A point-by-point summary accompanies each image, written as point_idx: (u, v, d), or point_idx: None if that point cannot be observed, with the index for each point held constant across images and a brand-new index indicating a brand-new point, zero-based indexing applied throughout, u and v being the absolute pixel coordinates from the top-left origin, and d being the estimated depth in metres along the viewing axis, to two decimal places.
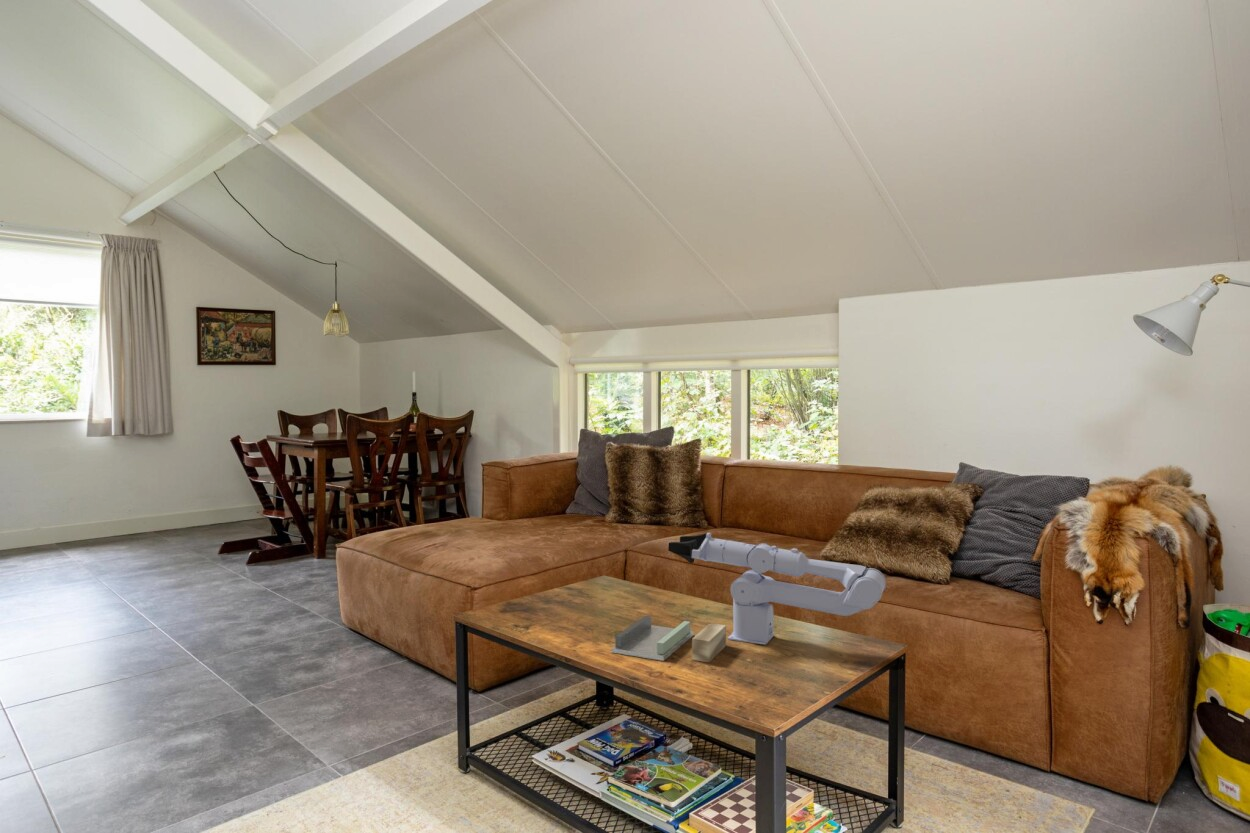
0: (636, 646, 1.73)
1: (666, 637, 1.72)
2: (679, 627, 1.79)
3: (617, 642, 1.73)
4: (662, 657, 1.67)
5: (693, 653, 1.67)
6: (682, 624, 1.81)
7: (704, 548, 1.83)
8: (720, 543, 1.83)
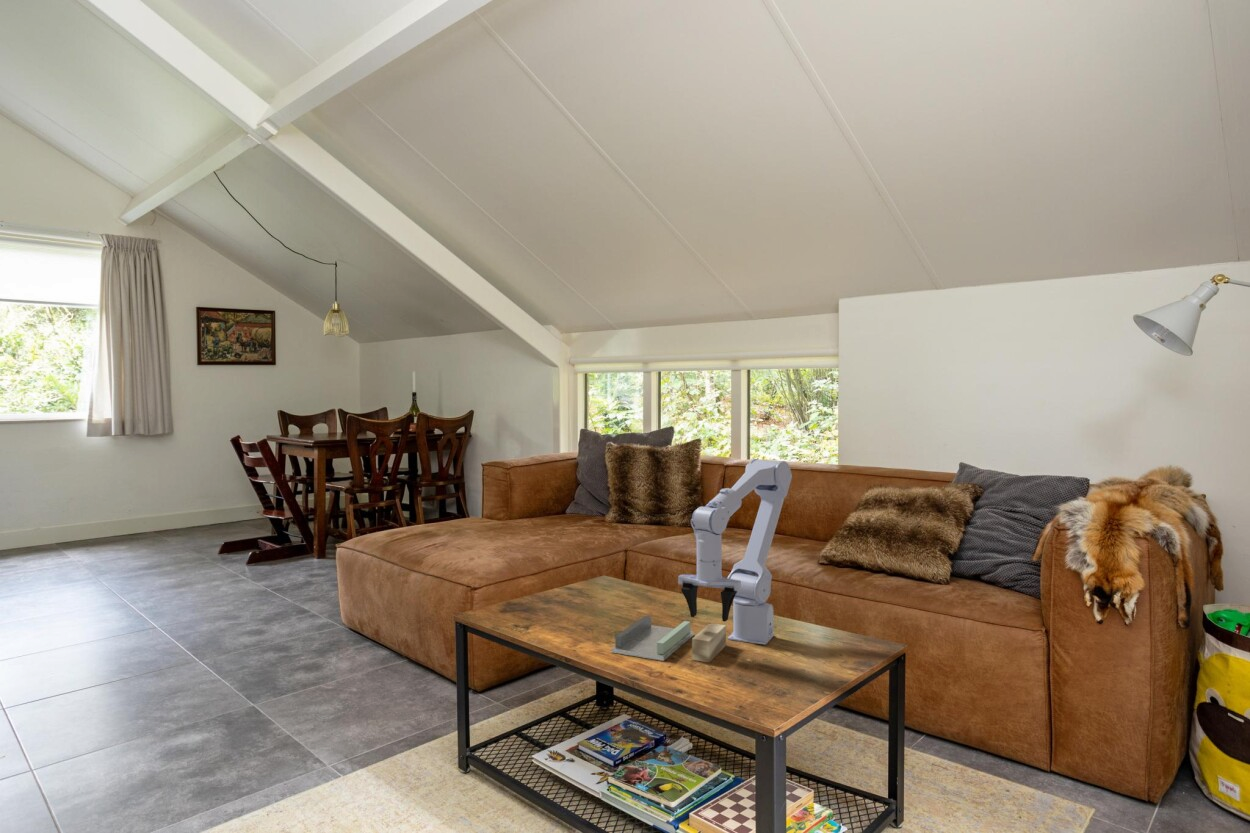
0: (636, 646, 1.73)
1: (666, 637, 1.72)
2: (679, 627, 1.79)
3: (617, 642, 1.73)
4: (662, 657, 1.67)
5: (693, 653, 1.67)
6: (682, 624, 1.81)
7: (720, 581, 1.69)
8: (711, 566, 1.69)
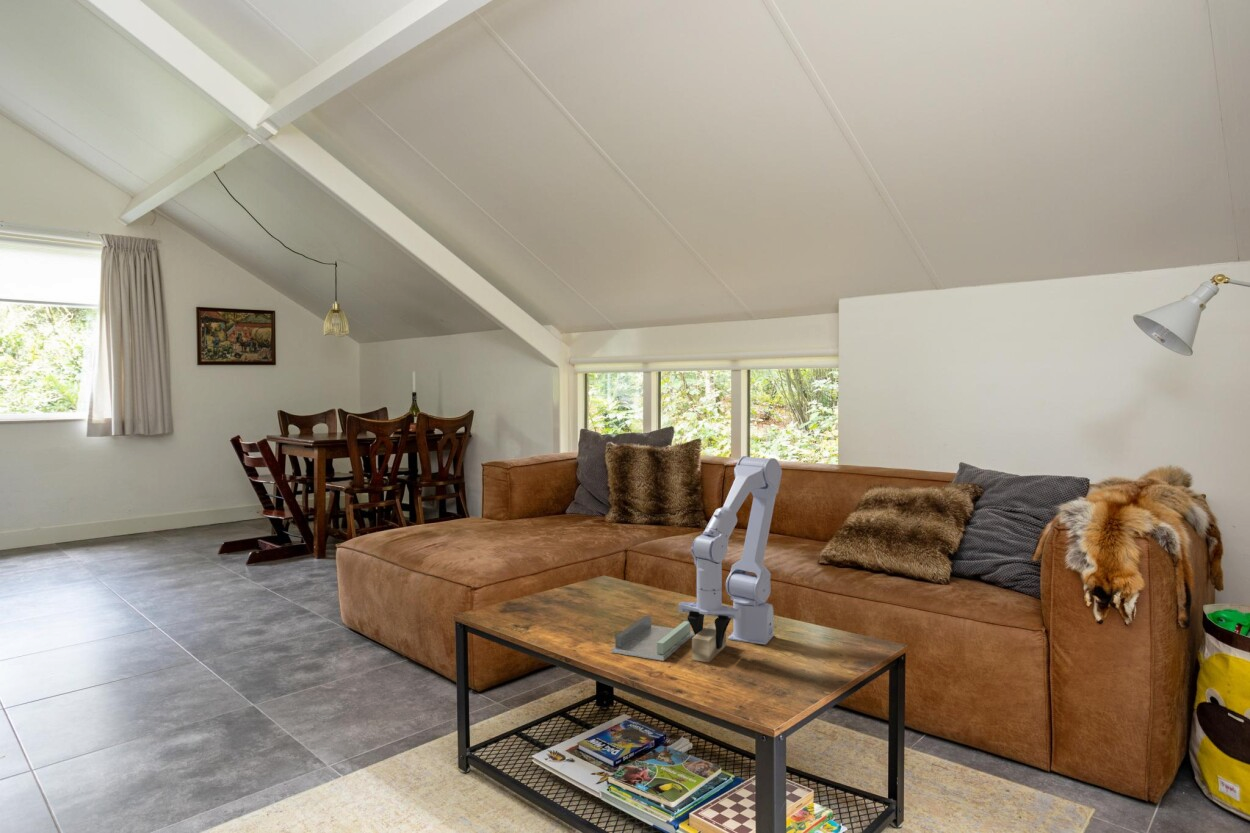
0: (636, 646, 1.73)
1: (666, 637, 1.72)
2: (679, 627, 1.79)
3: (617, 642, 1.73)
4: (662, 657, 1.67)
5: (693, 653, 1.67)
6: (682, 624, 1.81)
7: (720, 610, 1.70)
8: (712, 595, 1.69)
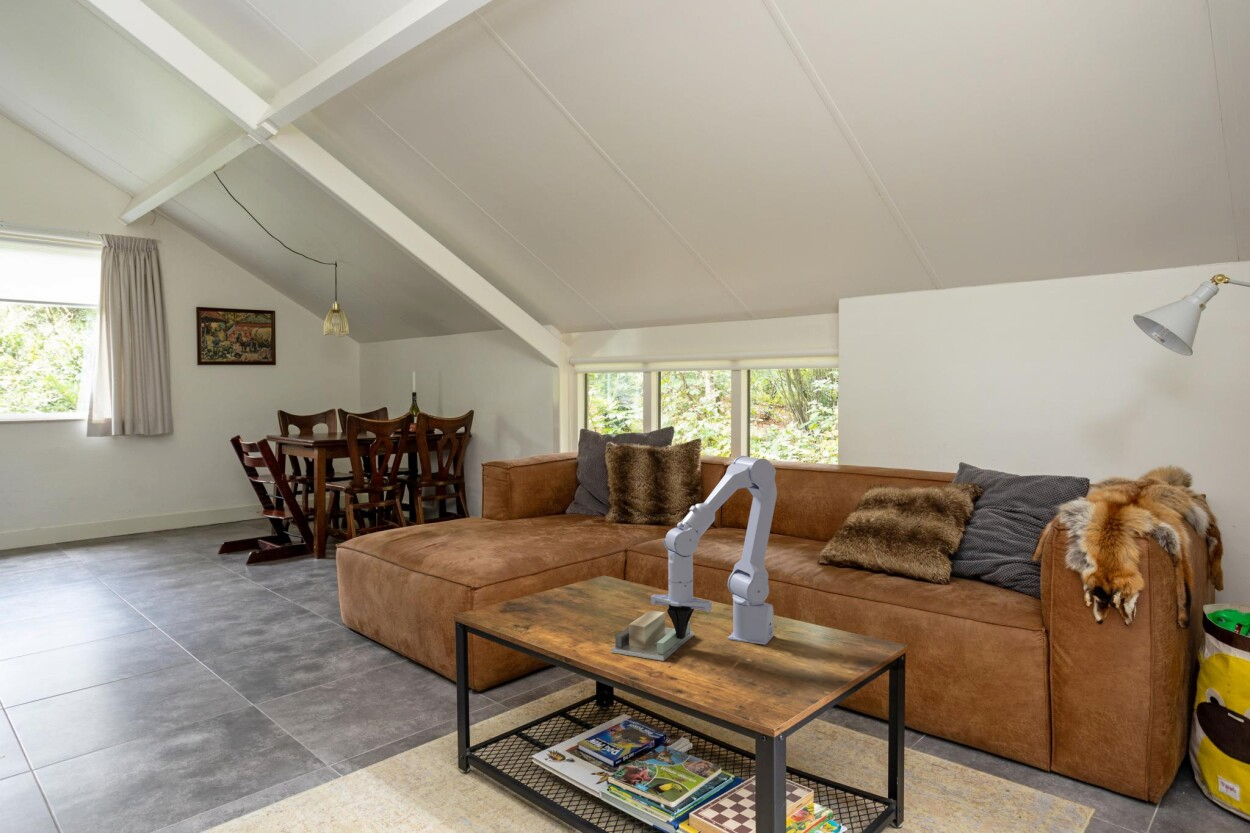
0: None
1: (666, 637, 1.72)
2: None
3: (617, 642, 1.73)
4: (662, 657, 1.67)
5: (630, 638, 1.74)
6: None
7: (691, 601, 1.73)
8: (683, 587, 1.72)
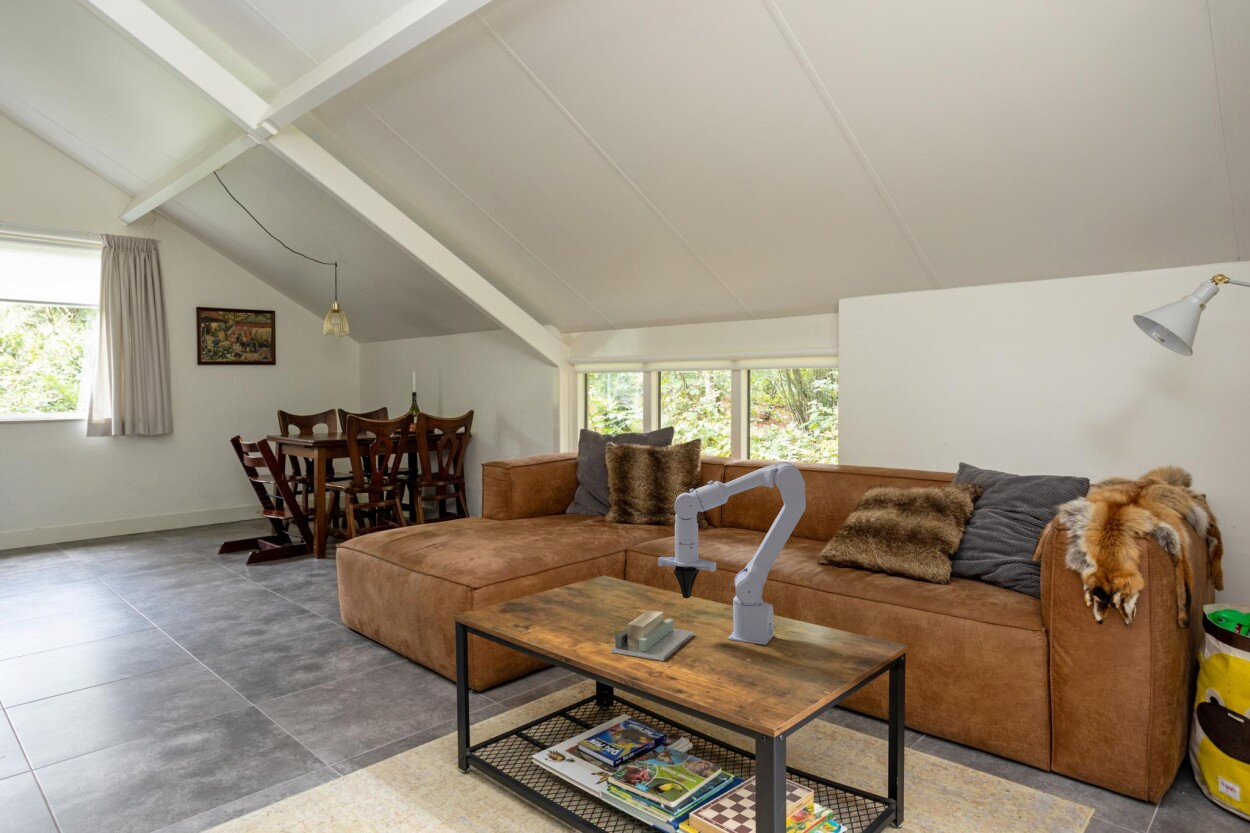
0: None
1: (648, 634, 1.74)
2: (662, 624, 1.81)
3: (617, 642, 1.73)
4: (662, 657, 1.67)
5: (628, 638, 1.74)
6: (665, 622, 1.83)
7: (696, 562, 1.81)
8: (688, 549, 1.81)
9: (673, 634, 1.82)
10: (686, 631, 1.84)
